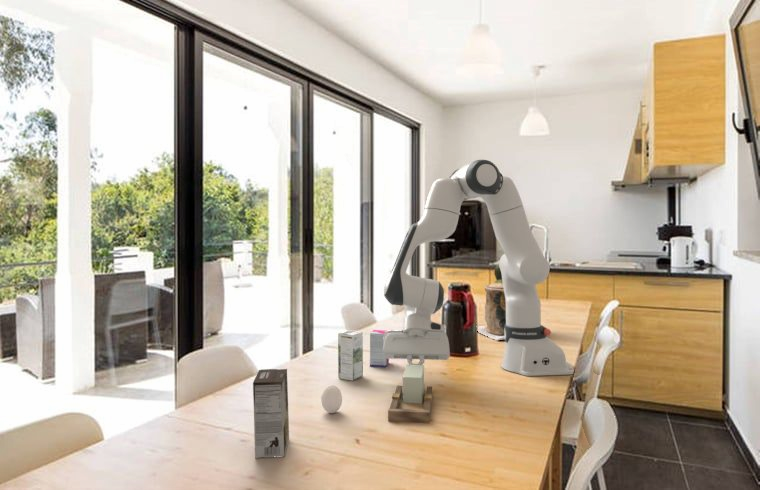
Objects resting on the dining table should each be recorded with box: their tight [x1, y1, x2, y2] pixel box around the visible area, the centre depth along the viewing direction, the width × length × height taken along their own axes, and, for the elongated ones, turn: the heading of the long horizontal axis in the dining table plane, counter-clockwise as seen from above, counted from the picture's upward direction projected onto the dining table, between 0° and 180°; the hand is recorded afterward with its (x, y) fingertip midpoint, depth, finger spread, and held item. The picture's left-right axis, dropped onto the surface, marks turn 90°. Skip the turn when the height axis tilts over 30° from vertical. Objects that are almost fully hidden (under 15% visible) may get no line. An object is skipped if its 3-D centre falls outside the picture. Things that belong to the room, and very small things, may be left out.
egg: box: [320, 383, 343, 414], centre depth 124 cm, size 5×5×7 cm
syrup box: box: [337, 329, 364, 382], centre depth 153 cm, size 6×6×14 cm
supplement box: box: [369, 329, 390, 368], centre depth 167 cm, size 6×6×12 cm
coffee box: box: [252, 368, 290, 459], centre depth 105 cm, size 9×6×16 cm
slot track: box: [387, 385, 433, 424], centre depth 128 cm, size 10×20×3 cm, turn 172°
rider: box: [402, 364, 425, 404], centre depth 136 cm, size 5×12×7 cm, turn 172°
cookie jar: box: [477, 264, 506, 342], centre depth 211 cm, size 25×25×32 cm
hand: (415, 370), depth 143 cm, fingers closed, pressing on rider
